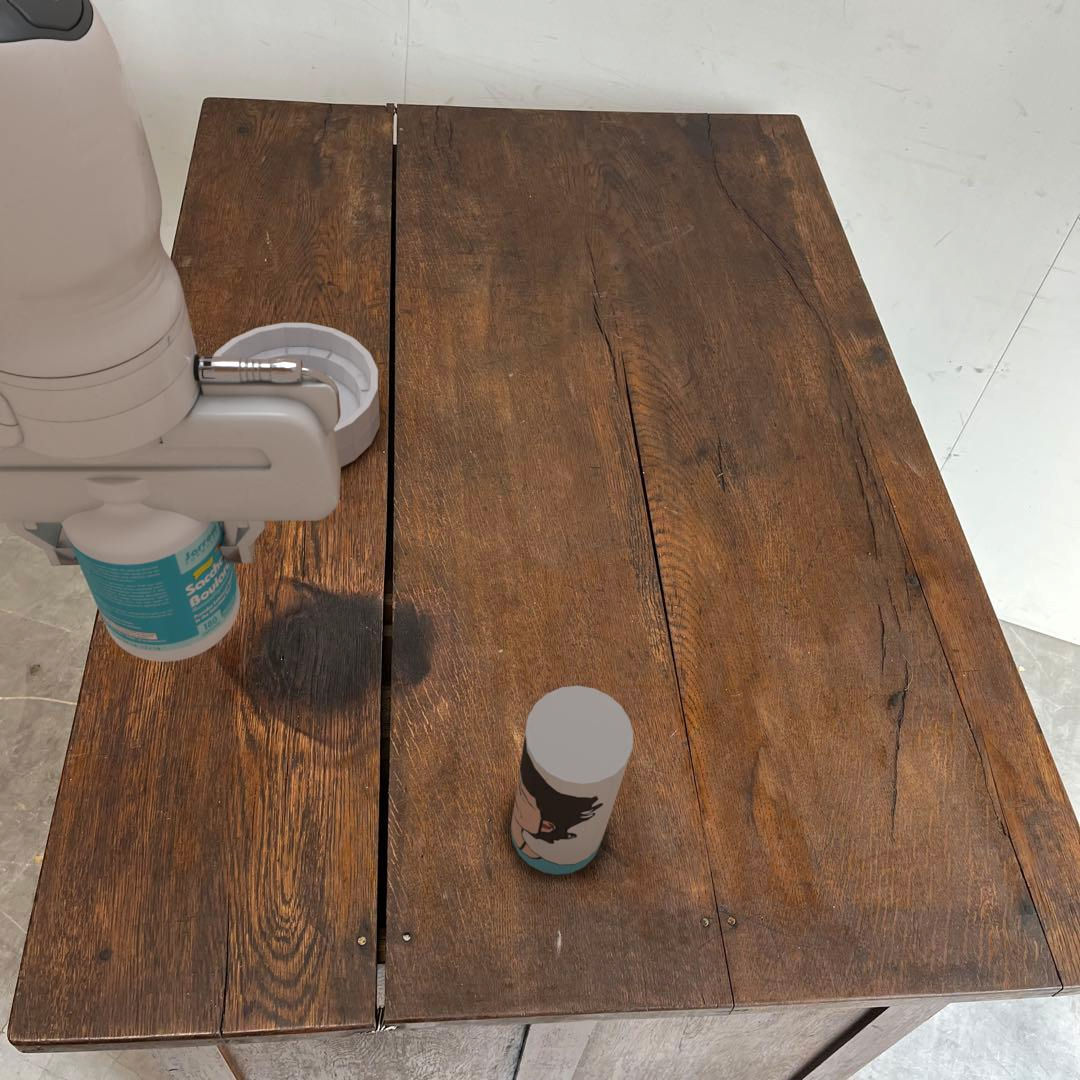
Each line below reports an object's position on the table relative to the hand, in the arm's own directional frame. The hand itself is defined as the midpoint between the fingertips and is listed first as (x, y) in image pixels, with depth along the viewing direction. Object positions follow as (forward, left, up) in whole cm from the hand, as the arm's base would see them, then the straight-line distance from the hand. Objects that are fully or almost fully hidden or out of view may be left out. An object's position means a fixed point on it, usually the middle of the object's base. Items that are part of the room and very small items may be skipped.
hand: (155, 554), depth 55 cm
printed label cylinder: (+24, -5, -27) cm, 36 cm away
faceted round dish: (+3, +37, -27) cm, 46 cm away
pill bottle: (0, 0, -6) cm, 6 cm away
